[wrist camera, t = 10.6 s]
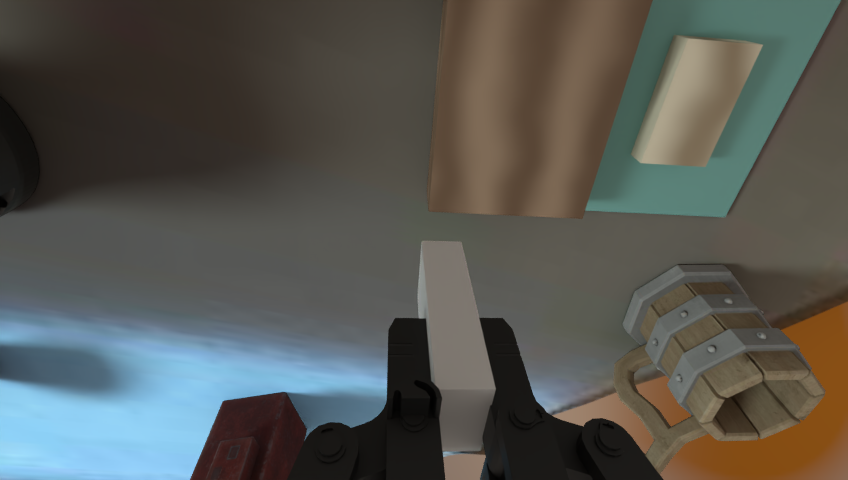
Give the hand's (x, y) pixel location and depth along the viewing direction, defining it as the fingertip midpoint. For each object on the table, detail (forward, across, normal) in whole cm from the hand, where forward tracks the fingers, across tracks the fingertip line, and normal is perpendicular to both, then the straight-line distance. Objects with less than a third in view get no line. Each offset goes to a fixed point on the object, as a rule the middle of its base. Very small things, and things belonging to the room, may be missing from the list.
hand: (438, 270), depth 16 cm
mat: (+23, +24, +1) cm, 33 cm away
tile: (+21, +23, +2) cm, 31 cm away
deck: (+23, +9, +2) cm, 25 cm away
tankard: (+23, +30, -25) cm, 45 cm away
